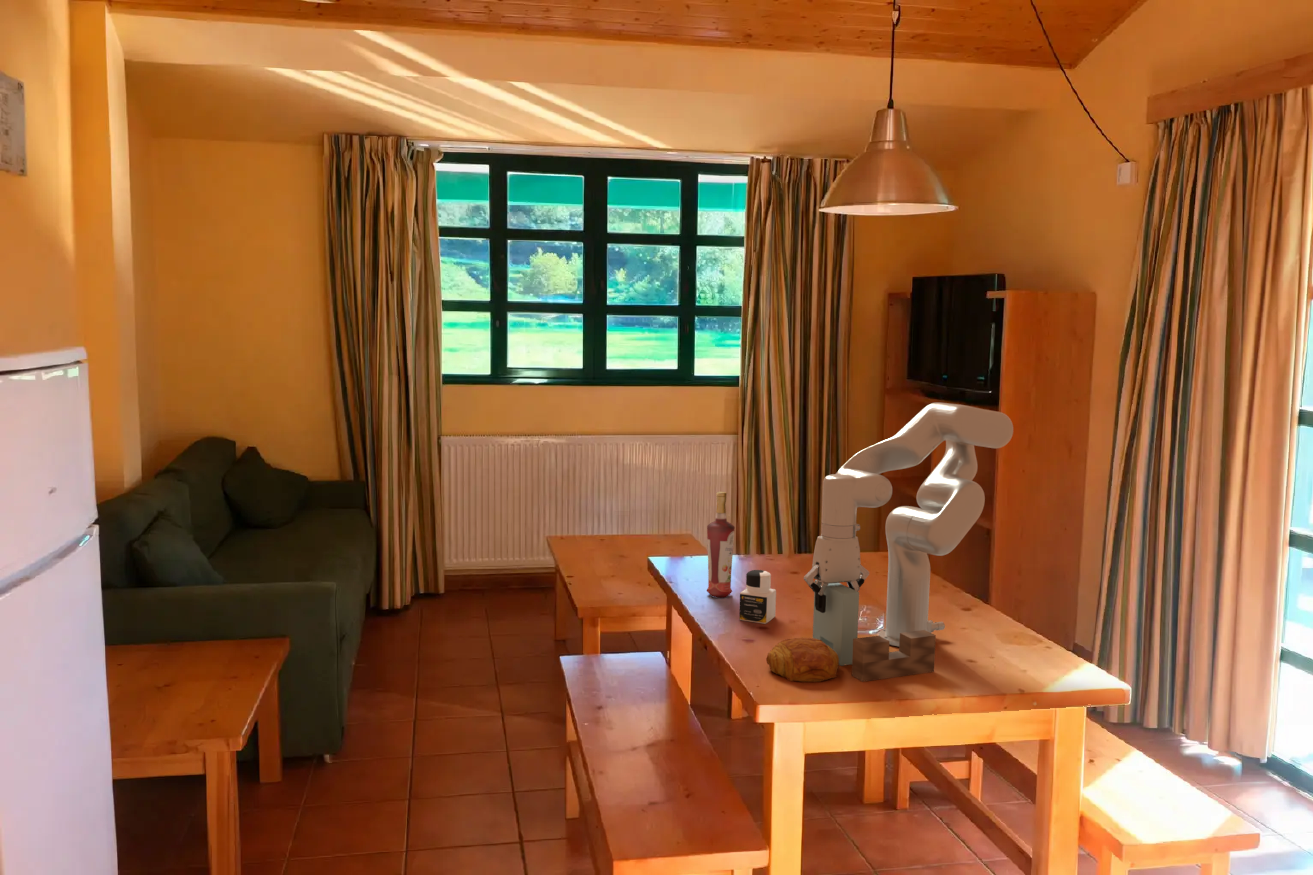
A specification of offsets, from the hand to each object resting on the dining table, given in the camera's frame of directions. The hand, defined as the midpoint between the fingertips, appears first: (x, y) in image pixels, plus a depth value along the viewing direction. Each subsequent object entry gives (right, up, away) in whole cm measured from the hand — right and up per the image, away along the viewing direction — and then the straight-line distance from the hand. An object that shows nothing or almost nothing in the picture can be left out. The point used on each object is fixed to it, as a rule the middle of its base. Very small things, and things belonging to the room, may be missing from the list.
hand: (835, 608), depth 234 cm
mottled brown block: (+11, -12, -9) cm, 19 cm away
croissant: (-8, -12, -9) cm, 17 cm away
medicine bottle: (-15, -7, +29) cm, 33 cm away
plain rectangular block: (0, -11, +1) cm, 11 cm away
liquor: (-23, -5, +49) cm, 54 cm away
